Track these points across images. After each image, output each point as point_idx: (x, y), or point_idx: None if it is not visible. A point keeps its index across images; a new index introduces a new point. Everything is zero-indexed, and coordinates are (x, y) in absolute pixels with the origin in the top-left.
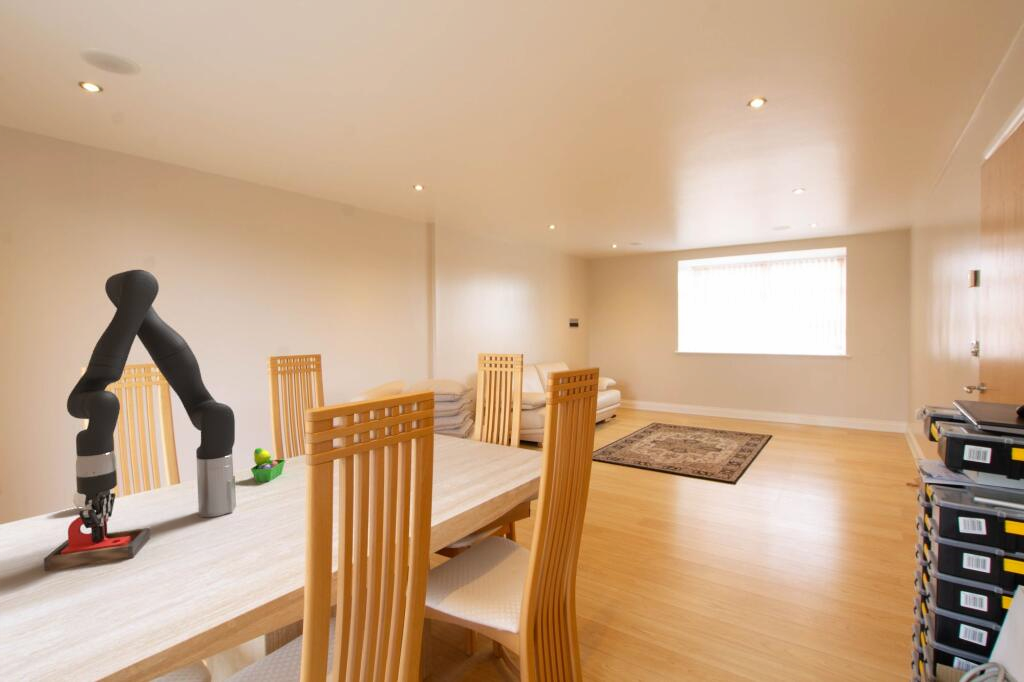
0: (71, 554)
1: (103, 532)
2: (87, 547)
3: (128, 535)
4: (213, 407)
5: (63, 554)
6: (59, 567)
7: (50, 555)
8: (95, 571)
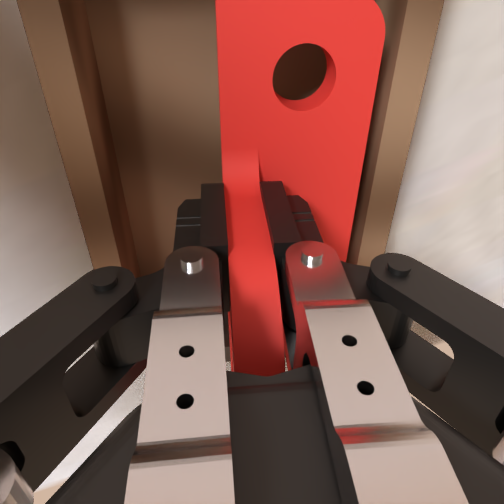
0: None
1: (275, 207)
2: (336, 227)
3: (81, 58)
4: None
5: None
6: None
7: None
8: (500, 81)
